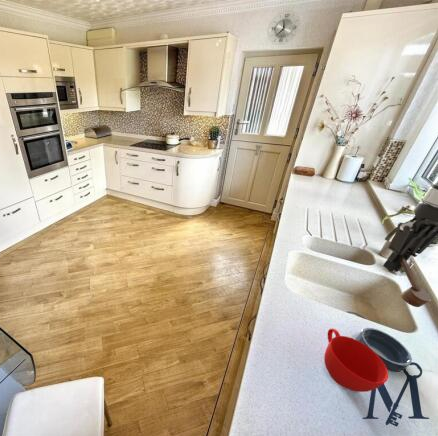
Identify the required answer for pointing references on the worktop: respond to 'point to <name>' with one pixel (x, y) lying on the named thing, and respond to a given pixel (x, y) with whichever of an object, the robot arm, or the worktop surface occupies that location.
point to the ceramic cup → (353, 364)
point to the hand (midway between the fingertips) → (390, 268)
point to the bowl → (386, 349)
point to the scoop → (413, 289)
